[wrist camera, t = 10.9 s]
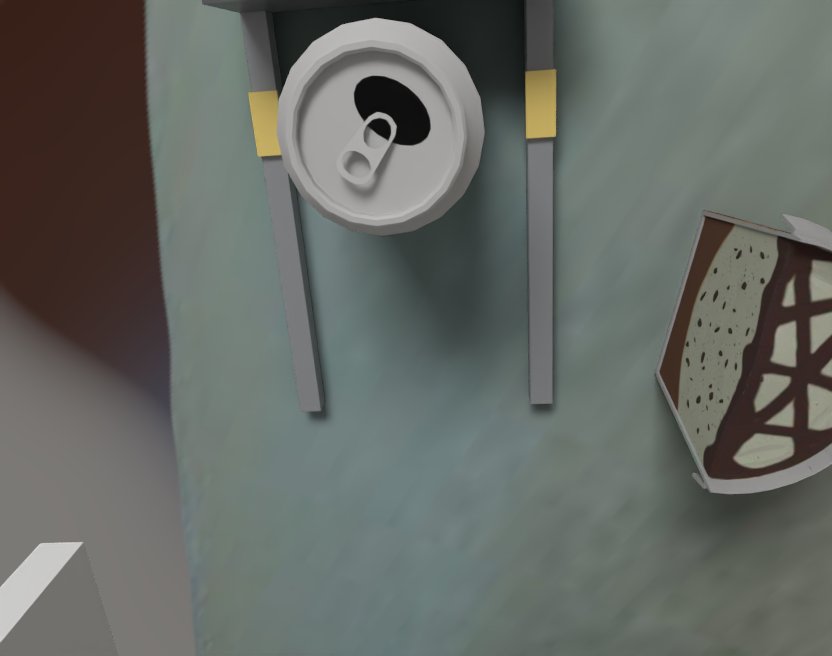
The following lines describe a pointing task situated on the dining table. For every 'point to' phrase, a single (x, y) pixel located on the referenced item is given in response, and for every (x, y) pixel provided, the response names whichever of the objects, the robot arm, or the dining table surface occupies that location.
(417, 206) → the can
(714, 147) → the dining table surface
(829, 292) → the food container
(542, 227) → the guide channel
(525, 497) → the dining table surface
